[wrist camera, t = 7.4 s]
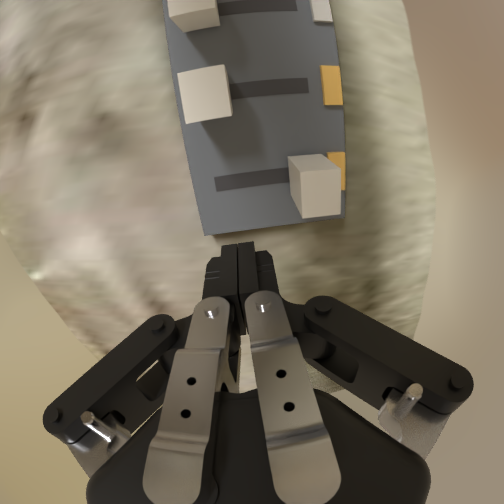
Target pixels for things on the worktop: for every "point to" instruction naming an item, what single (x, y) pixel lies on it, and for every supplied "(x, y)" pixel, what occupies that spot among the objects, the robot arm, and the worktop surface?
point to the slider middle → (205, 93)
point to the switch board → (261, 108)
